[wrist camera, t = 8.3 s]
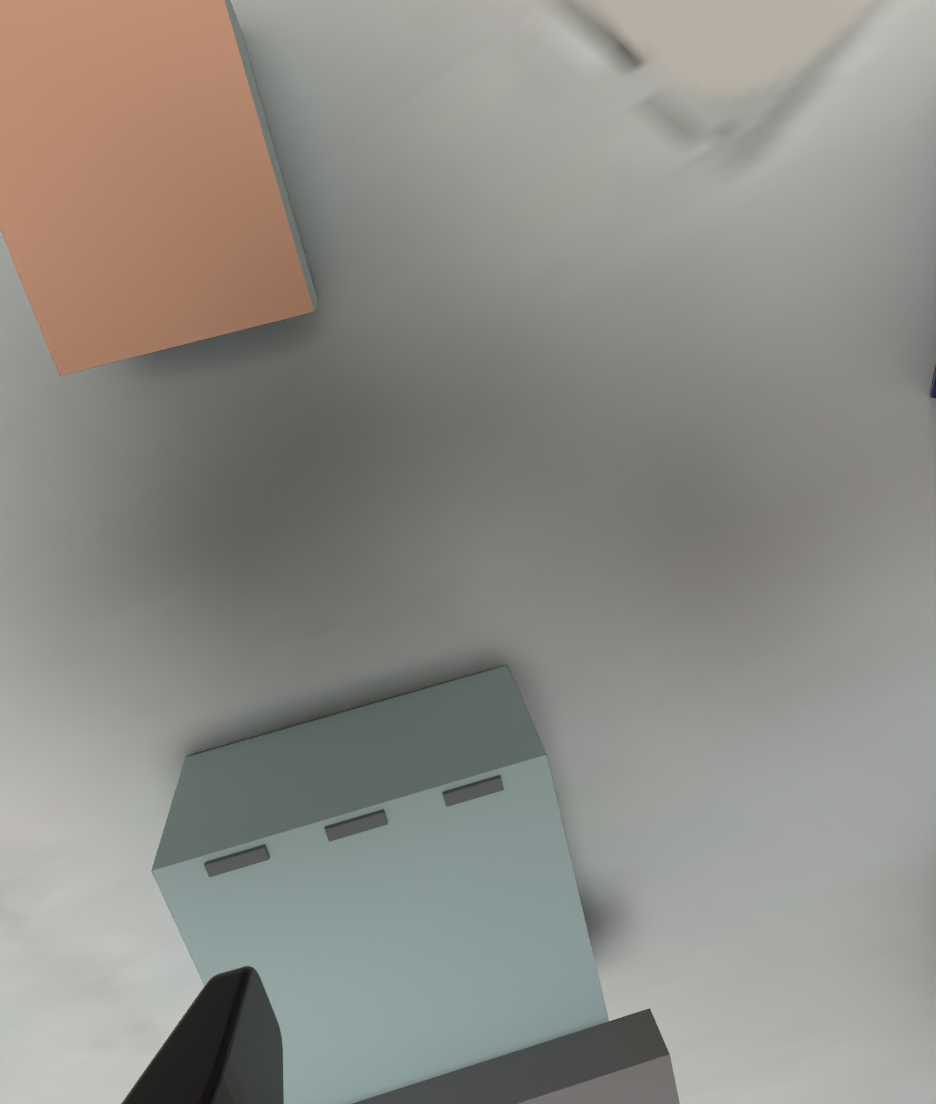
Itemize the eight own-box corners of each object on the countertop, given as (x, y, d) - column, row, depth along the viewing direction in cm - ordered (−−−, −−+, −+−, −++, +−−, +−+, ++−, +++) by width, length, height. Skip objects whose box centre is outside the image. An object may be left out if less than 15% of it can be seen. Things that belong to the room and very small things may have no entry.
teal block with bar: (545, 654, 20) (613, 774, 15) (612, 954, 24) (685, 1130, 19) (144, 768, 20) (82, 932, 15) (273, 1060, 23) (258, 1271, 18)
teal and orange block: (239, 25, 15) (206, -62, 11) (318, 302, 17) (314, 311, 13) (21, 74, 15) (-91, 3, 11) (124, 350, 17) (60, 375, 13)
